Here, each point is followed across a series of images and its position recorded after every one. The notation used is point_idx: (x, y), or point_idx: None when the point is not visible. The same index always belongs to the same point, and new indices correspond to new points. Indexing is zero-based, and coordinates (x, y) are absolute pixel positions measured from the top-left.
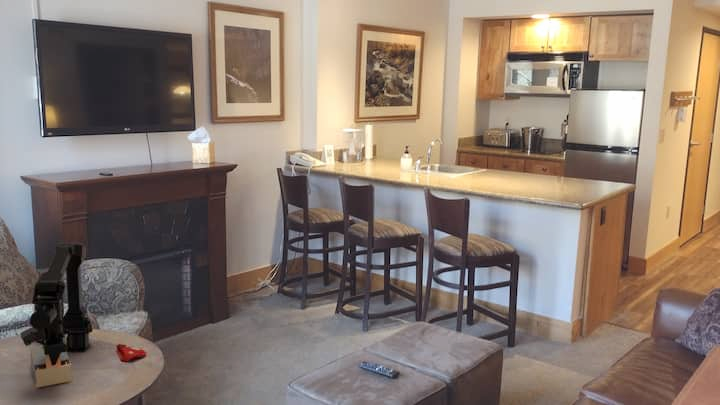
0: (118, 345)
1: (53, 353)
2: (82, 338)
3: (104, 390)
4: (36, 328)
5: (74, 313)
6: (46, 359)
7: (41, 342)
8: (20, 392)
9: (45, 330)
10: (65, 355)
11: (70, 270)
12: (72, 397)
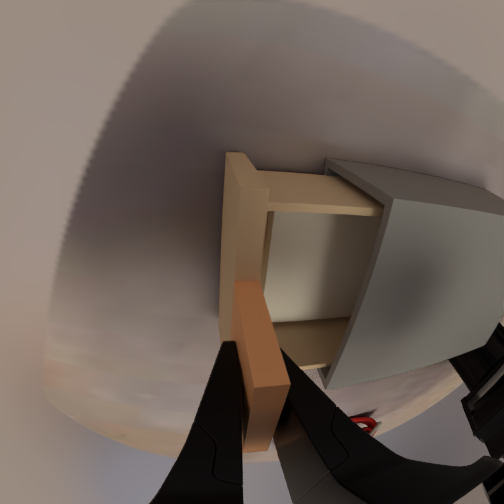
0: (371, 430)
1: None
2: (468, 374)
3: (97, 386)
4: None
5: None
6: (247, 363)
7: (458, 499)
8: (232, 57)
9: None
10: (380, 372)
11: None
12: (58, 299)
